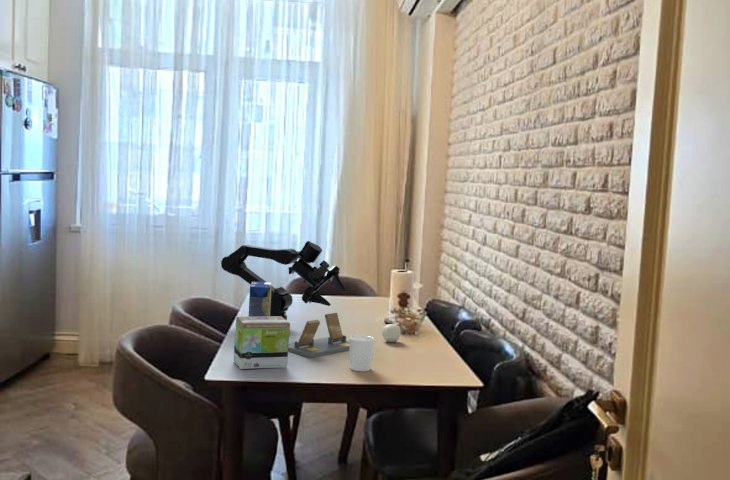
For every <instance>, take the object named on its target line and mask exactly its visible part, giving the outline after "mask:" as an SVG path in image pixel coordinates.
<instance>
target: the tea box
mask: <svg viewBox="0 0 730 480" xmlns="http://www.w3.org/2000/svg"><path fill="white" fill-rule="evenodd" d="M290 329H291V322H289V321H288V319H287V320H285V319H284V318H283V317H282V316H260V317H249V316H236V320H235V331H234V333H235V334H234V346H233V348H234V349H233V362H234V364H235V365H236V366H237V367H238V366H239V367H238V368H239V369H240V370H246V369H247V370H249V369H280V368H281V369H282V368H283V369H286V368H287V367H288V360H289V359H288V357H289V351H288V345H289V344H290V333H291V332H290V331H291V330H290Z"/></svg>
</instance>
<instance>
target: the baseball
mask: <svg viewBox="0 0 730 480" xmlns="http://www.w3.org/2000/svg"><path fill="white" fill-rule="evenodd" d="M381 332H382V334H381V335H382V338H383V340H385V341H386V342H387V343H395V342H398V340H399V339H400V337H401V335H402V334H401V329H400V327H399V326H398V325H397V324H394V323H388V324H386V325H384V327H383V328H382V331H381Z"/></svg>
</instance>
